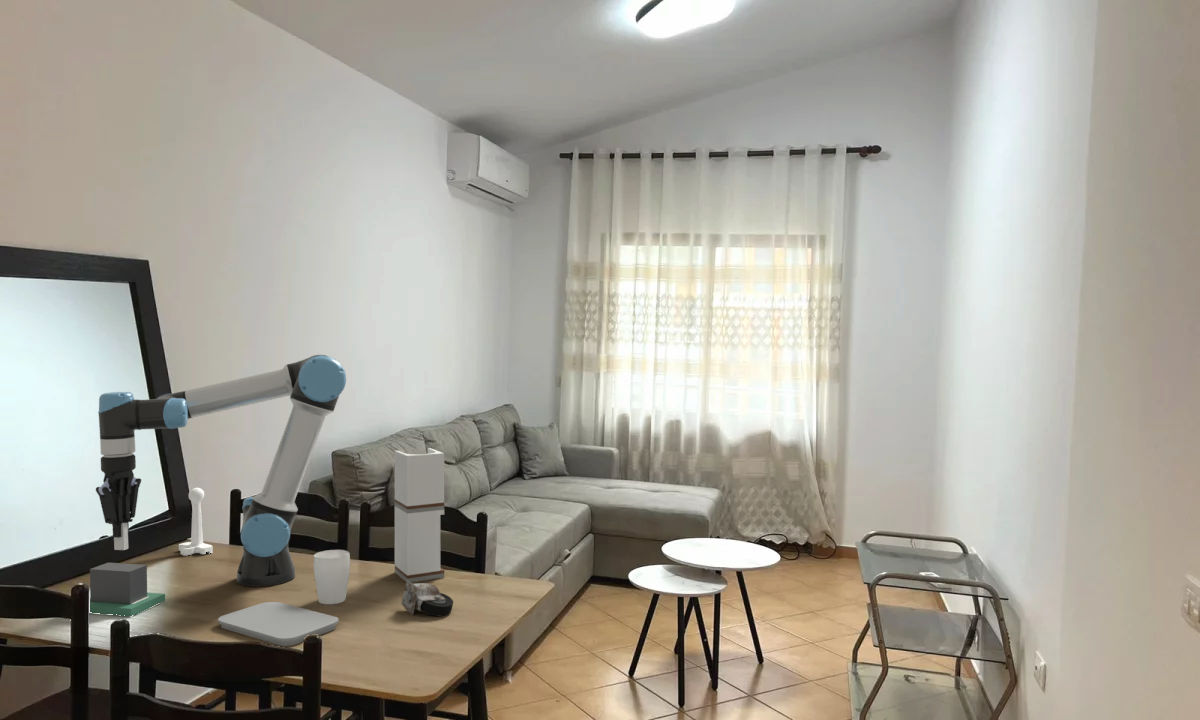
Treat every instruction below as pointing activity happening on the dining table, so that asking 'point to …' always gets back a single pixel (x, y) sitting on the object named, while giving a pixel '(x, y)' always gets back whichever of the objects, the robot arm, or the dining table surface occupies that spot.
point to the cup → (331, 575)
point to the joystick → (196, 527)
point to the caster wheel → (426, 599)
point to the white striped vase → (418, 514)
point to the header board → (127, 605)
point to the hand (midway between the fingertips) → (121, 549)
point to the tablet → (278, 623)
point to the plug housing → (118, 583)
